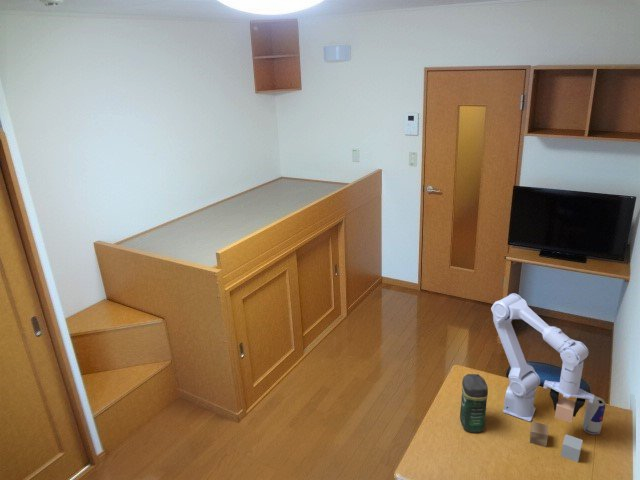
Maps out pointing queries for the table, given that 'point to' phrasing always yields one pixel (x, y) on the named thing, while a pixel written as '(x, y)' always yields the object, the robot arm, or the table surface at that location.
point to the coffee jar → (473, 403)
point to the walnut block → (539, 434)
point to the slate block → (571, 448)
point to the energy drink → (594, 416)
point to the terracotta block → (565, 409)
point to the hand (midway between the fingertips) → (565, 411)
